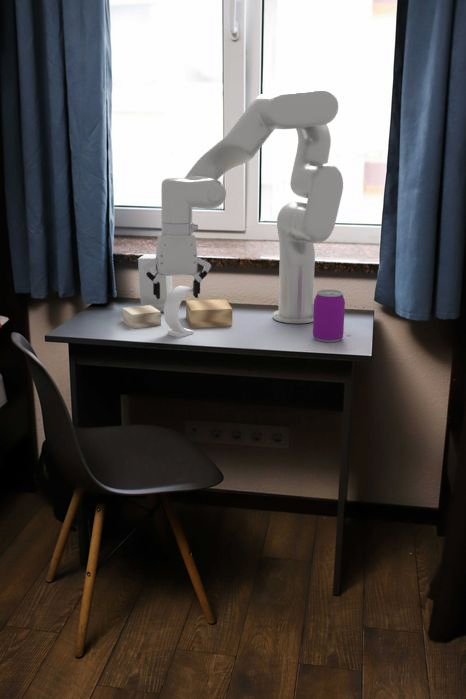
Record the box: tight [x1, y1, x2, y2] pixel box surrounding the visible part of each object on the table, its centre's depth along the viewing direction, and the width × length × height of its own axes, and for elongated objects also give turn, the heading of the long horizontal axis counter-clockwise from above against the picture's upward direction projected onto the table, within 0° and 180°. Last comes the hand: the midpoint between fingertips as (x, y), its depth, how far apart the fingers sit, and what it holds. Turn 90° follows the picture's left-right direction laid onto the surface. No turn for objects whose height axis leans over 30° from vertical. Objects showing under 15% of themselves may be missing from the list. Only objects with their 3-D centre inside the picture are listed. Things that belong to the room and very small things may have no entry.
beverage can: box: [312, 289, 346, 343], centre depth 200 cm, size 8×8×12 cm
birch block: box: [122, 305, 162, 329], centre depth 215 cm, size 8×8×4 cm
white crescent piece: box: [163, 285, 195, 338], centre depth 203 cm, size 5×6×12 cm
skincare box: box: [137, 253, 174, 313], centre depth 228 cm, size 8×7×16 cm
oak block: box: [185, 298, 233, 329], centre depth 217 cm, size 11×11×5 cm
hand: (176, 297), depth 202 cm, fingers open, 9 cm apart
